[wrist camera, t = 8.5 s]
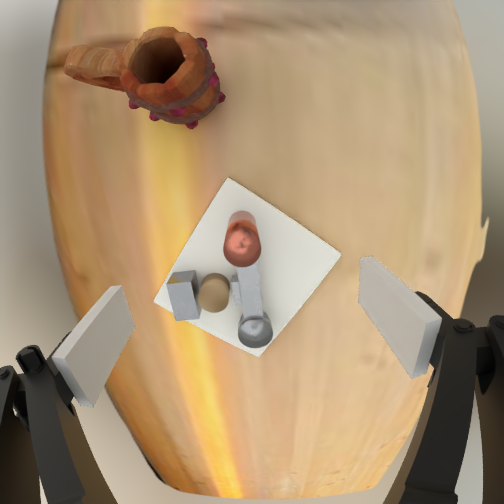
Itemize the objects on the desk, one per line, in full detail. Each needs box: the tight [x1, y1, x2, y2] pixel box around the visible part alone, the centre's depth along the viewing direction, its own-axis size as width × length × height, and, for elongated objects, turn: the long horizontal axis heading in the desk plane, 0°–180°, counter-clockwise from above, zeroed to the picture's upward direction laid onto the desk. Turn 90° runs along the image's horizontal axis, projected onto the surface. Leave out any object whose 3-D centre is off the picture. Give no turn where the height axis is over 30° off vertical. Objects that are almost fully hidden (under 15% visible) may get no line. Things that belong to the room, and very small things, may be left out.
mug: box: [64, 27, 225, 129], centre depth 22 cm, size 15×8×15 cm, turn 74°
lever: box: [223, 211, 273, 348], centre depth 30 cm, size 18×4×10 cm, turn 6°
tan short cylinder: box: [198, 273, 230, 313], centre depth 34 cm, size 4×4×4 cm
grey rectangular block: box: [166, 270, 202, 321], centre depth 34 cm, size 5×3×4 cm, turn 6°
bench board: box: [153, 177, 342, 357], centre depth 36 cm, size 19×17×2 cm
